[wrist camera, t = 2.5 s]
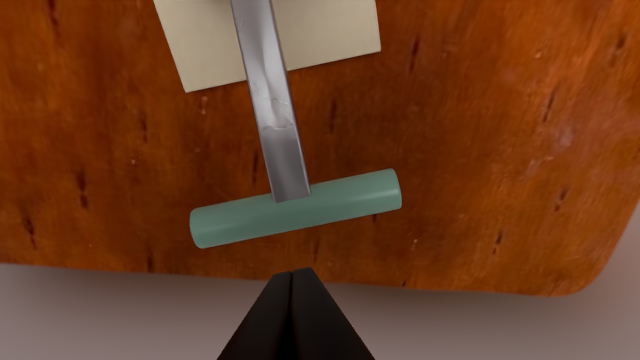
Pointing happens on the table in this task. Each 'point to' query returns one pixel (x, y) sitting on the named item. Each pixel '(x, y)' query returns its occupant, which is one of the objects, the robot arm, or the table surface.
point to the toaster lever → (283, 153)
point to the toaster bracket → (294, 27)
